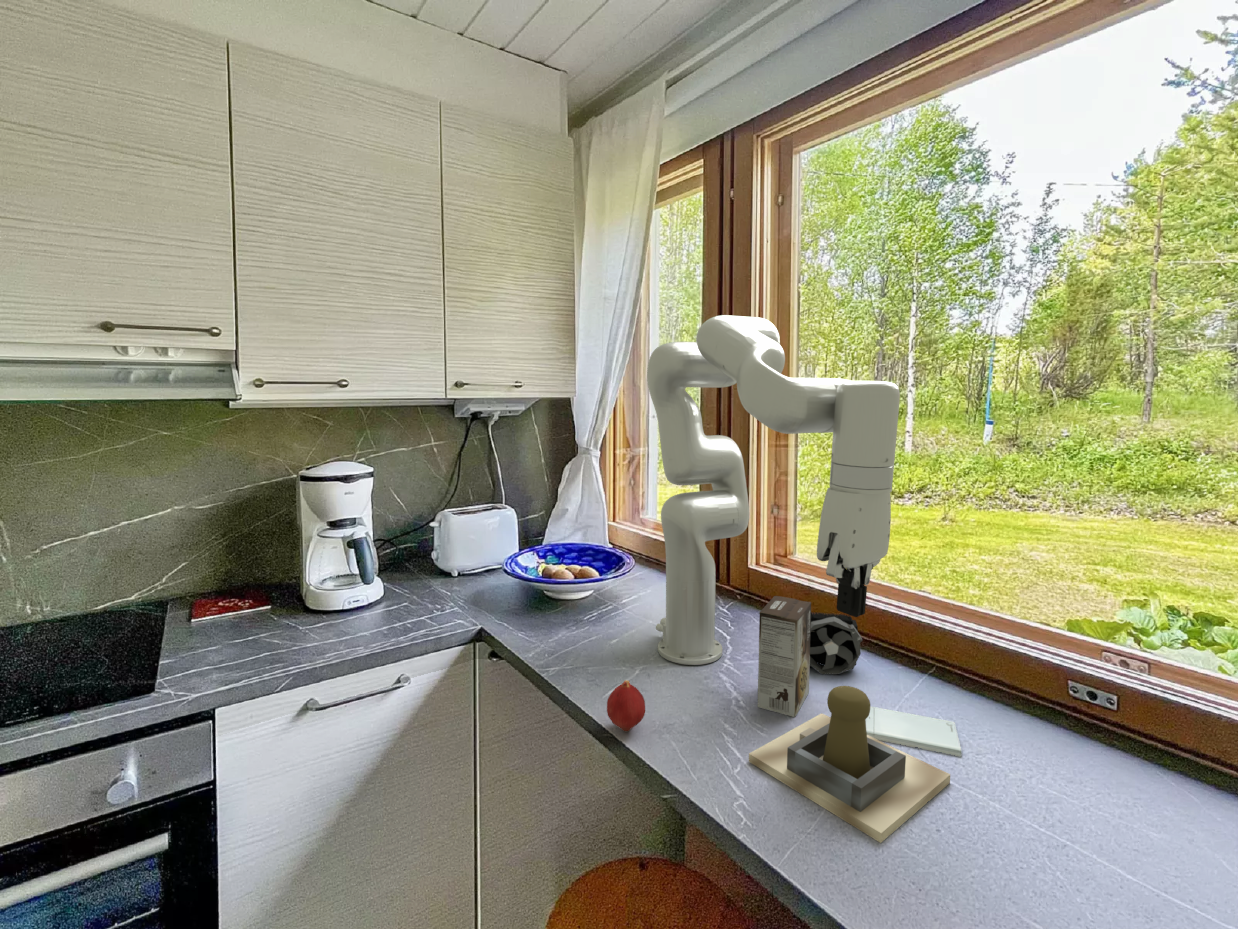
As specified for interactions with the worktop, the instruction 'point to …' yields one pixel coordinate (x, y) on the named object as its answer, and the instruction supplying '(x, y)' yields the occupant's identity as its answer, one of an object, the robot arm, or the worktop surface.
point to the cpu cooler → (833, 643)
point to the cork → (848, 731)
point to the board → (852, 778)
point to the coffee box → (784, 655)
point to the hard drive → (913, 730)
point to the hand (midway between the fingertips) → (850, 612)
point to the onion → (626, 706)
